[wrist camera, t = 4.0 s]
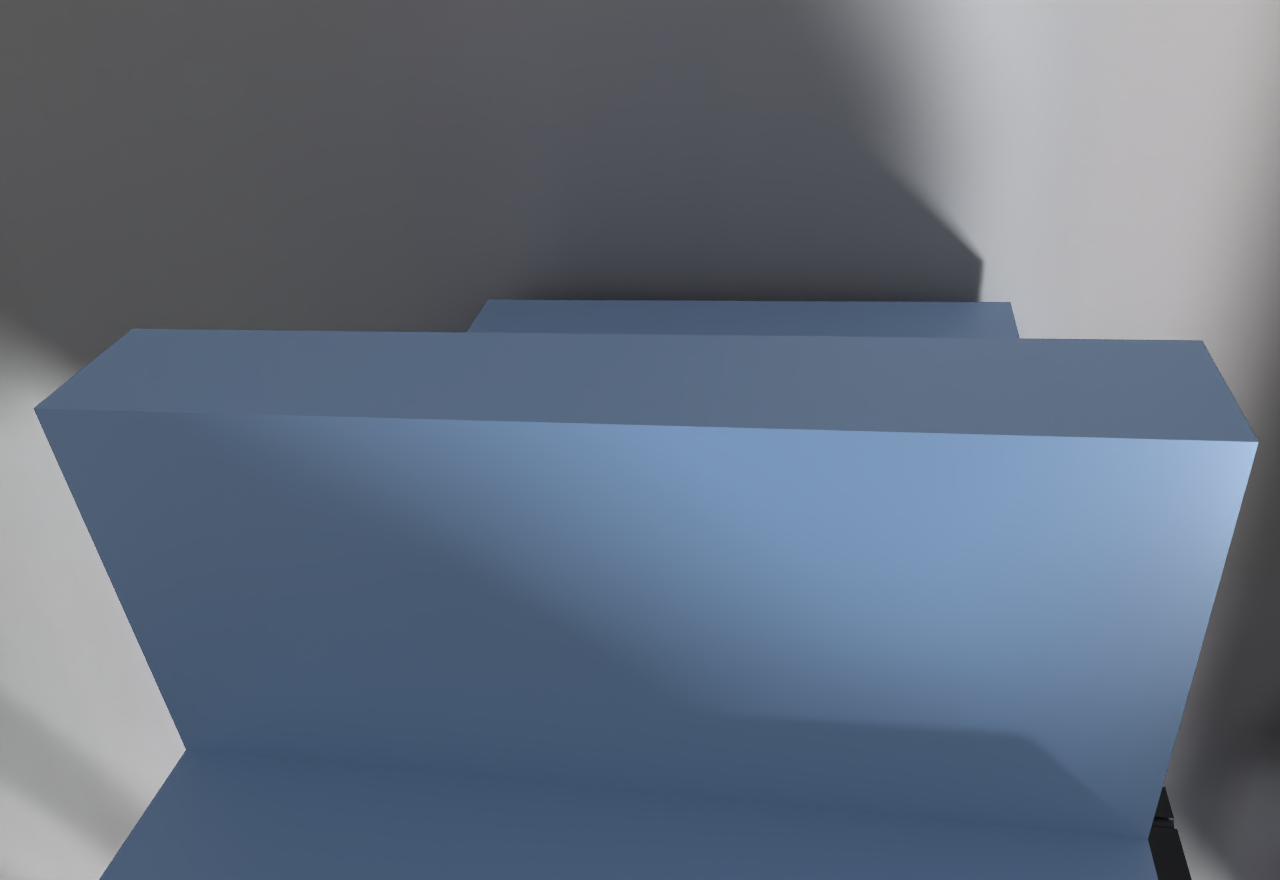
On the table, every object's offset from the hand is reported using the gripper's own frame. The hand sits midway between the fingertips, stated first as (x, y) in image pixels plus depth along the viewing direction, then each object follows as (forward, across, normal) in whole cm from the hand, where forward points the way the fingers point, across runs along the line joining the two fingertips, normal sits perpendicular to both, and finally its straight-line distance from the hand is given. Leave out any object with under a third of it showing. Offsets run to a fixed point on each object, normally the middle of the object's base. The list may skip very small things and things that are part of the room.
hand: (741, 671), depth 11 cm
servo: (0, 0, 0) cm, 0 cm away
